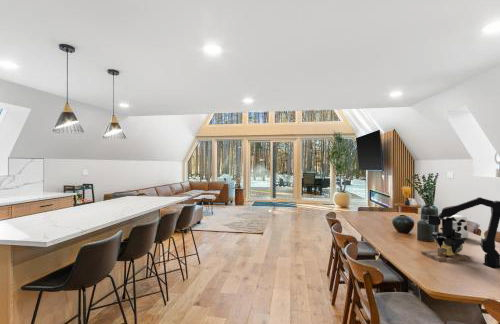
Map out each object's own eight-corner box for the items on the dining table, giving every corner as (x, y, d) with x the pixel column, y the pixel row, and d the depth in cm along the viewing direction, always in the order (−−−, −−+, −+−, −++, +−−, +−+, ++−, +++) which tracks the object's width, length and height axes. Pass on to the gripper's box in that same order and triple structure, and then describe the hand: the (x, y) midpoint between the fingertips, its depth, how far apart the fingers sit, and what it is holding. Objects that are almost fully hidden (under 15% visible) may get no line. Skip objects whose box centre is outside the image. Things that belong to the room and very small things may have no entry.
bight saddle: (454, 255, 167) (454, 247, 167) (448, 255, 167) (448, 248, 167) (446, 252, 173) (446, 245, 173) (441, 252, 172) (441, 245, 172)
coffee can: (462, 239, 182) (461, 232, 173) (463, 254, 178) (462, 248, 168) (444, 237, 188) (442, 230, 179) (444, 251, 184) (442, 245, 175)
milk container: (459, 235, 227) (459, 214, 227) (473, 240, 210) (473, 218, 210) (438, 234, 230) (437, 213, 230) (450, 239, 213) (450, 217, 213)
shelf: (466, 259, 167) (466, 249, 168) (438, 261, 165) (438, 250, 165) (447, 252, 181) (447, 242, 181) (421, 253, 179) (421, 243, 179)
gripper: (472, 230, 162) (472, 255, 162) (446, 223, 180) (446, 246, 180) (456, 230, 160) (456, 256, 160) (431, 223, 179) (431, 246, 179)
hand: (447, 250), depth 170 cm, fingers open, 9 cm apart
